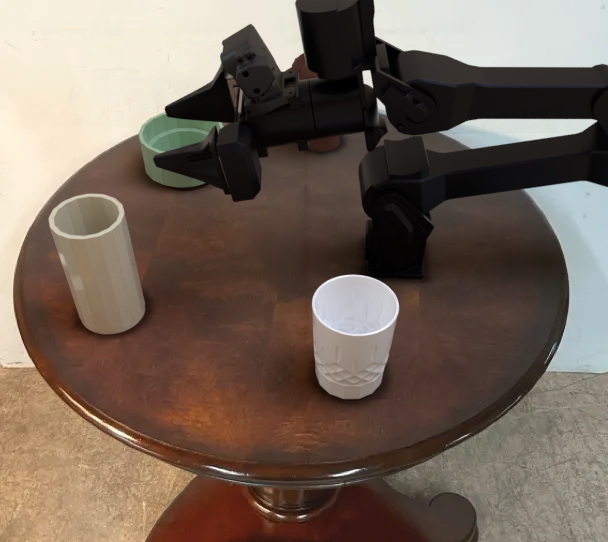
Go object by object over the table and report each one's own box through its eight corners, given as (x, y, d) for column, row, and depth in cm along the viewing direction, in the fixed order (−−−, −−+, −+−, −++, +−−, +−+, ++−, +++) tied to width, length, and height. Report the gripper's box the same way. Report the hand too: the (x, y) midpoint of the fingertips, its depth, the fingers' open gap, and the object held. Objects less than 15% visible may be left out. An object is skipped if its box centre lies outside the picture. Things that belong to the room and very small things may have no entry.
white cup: (382, 411, 67) (393, 341, 60) (303, 397, 68) (304, 327, 61) (392, 351, 72) (403, 280, 65) (318, 339, 73) (320, 269, 66)
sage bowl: (232, 146, 98) (229, 111, 94) (220, 193, 90) (216, 156, 86) (155, 143, 98) (149, 107, 94) (137, 189, 91) (130, 152, 87)
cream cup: (151, 290, 78) (131, 195, 68) (137, 336, 73) (113, 240, 64) (90, 287, 78) (61, 191, 69) (72, 332, 74) (38, 236, 64)
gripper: (297, -14, 68) (145, 15, 70) (300, 78, 55) (114, 111, 57) (316, 91, 76) (179, 114, 78) (321, 192, 64) (158, 217, 65)
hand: (160, 135), depth 69 cm, fingers open, 9 cm apart
